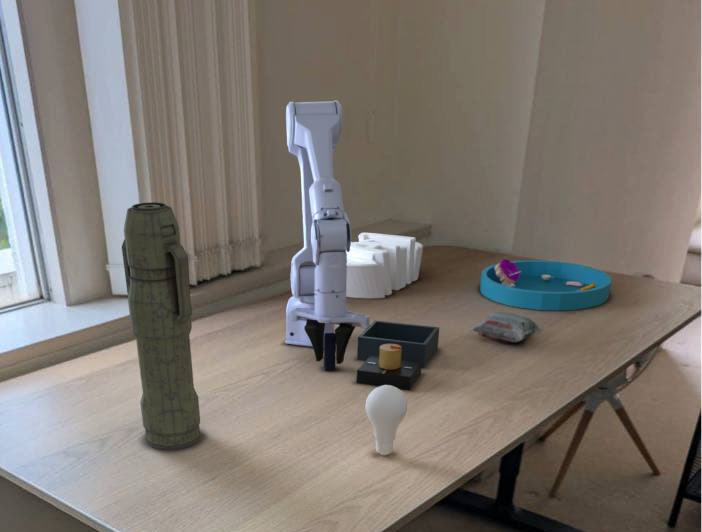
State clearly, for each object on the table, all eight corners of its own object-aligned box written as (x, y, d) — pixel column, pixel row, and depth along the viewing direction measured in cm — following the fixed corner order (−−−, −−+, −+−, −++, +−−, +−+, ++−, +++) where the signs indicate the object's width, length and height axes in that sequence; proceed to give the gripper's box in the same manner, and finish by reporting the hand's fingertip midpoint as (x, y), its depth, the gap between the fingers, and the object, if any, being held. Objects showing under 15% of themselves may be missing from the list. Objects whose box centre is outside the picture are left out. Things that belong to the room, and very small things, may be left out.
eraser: (324, 366, 154) (324, 332, 151) (335, 367, 154) (336, 332, 150) (323, 371, 152) (323, 336, 149) (335, 371, 152) (335, 336, 149)
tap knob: (375, 368, 146) (376, 347, 144) (382, 360, 149) (383, 340, 147) (397, 370, 145) (398, 350, 143) (403, 363, 148) (404, 343, 146)
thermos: (185, 457, 122) (162, 215, 104) (127, 440, 128) (94, 207, 109) (220, 435, 129) (203, 203, 110) (163, 420, 134) (138, 196, 116)
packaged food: (520, 350, 160) (523, 326, 158) (467, 338, 167) (470, 315, 164) (540, 339, 166) (543, 316, 163) (488, 328, 172) (491, 305, 170)
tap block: (356, 383, 147) (356, 369, 145) (369, 368, 153) (370, 354, 152) (409, 390, 144) (410, 376, 142) (421, 374, 150) (422, 360, 149)
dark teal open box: (357, 359, 157) (357, 336, 155) (373, 342, 166) (374, 320, 163) (424, 368, 153) (425, 344, 150) (437, 349, 161) (439, 327, 159)
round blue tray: (509, 270, 213) (512, 247, 210) (625, 286, 198) (629, 262, 195) (459, 297, 192) (461, 272, 189) (583, 318, 177) (588, 291, 174)
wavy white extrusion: (365, 307, 186) (367, 260, 181) (307, 296, 195) (306, 251, 189) (434, 273, 211) (437, 231, 205) (379, 265, 219) (381, 224, 213)
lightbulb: (360, 446, 125) (363, 379, 119) (399, 444, 125) (403, 377, 119) (367, 464, 120) (369, 395, 114) (407, 462, 120) (412, 393, 114)
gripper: (284, 291, 144) (286, 363, 152) (361, 298, 140) (359, 373, 147) (299, 281, 150) (300, 351, 157) (374, 288, 145) (371, 360, 152)
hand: (329, 361), depth 152 cm, fingers open, 3 cm apart
